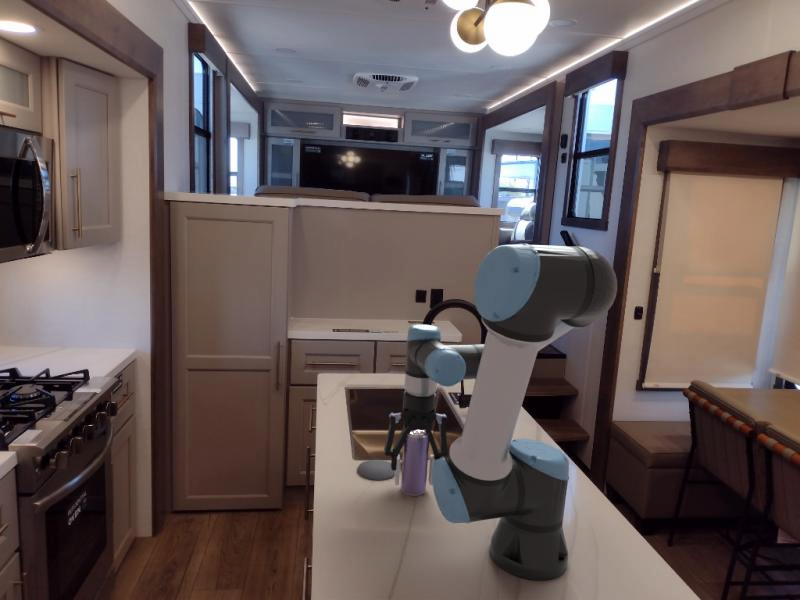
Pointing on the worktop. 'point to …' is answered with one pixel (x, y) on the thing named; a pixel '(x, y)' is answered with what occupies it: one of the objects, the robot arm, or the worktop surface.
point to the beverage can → (415, 463)
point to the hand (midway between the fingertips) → (413, 482)
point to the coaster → (376, 470)
